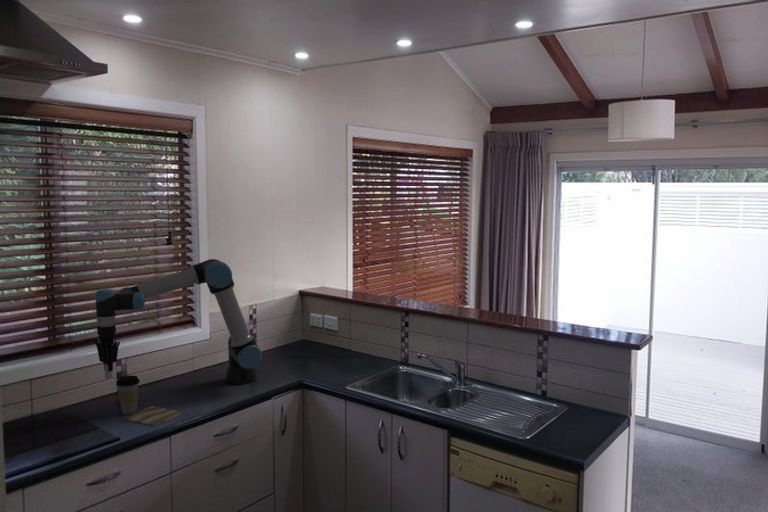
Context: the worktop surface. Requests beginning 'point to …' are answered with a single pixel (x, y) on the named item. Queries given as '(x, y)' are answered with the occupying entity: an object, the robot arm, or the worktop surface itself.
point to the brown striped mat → (153, 415)
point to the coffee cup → (128, 393)
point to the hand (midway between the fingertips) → (108, 377)
